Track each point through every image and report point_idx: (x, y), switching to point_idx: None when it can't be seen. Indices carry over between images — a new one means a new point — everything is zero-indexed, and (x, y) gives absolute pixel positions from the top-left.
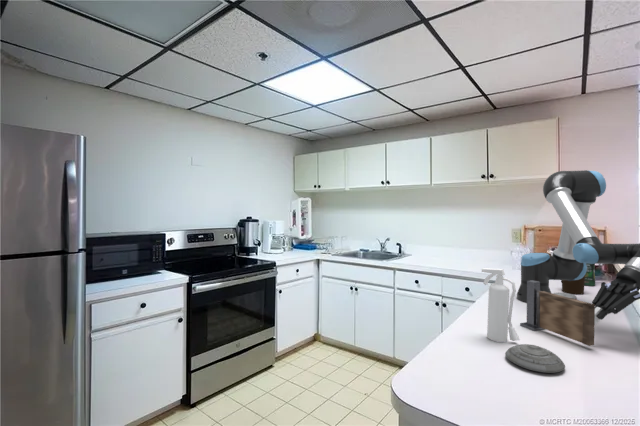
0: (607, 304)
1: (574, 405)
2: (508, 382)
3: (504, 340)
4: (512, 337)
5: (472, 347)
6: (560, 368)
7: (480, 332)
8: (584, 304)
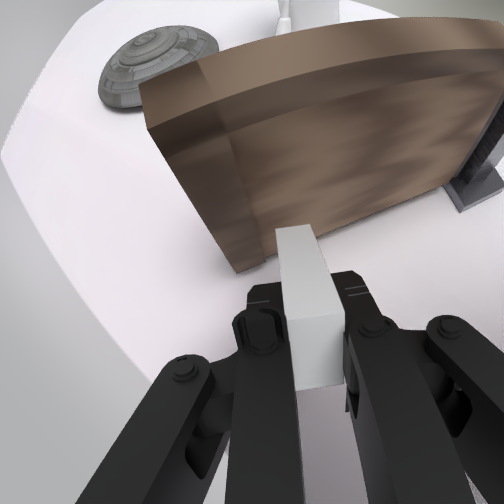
0: (256, 391)
1: (41, 98)
2: (111, 40)
3: None
4: None
5: (246, 8)
6: (99, 91)
7: None
8: (186, 70)
